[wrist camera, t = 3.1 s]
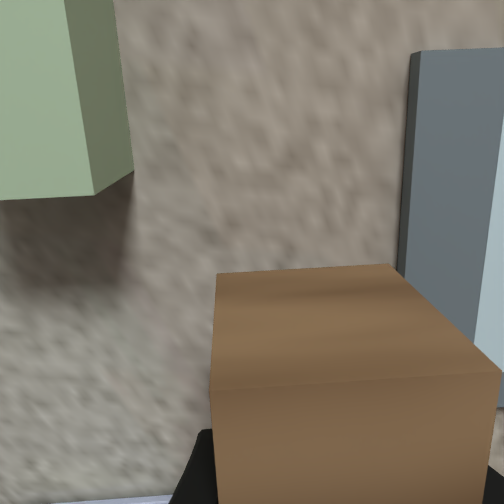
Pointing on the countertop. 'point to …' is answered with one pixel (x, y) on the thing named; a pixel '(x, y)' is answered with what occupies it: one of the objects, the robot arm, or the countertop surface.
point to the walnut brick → (345, 392)
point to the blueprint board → (457, 192)
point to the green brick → (61, 99)
